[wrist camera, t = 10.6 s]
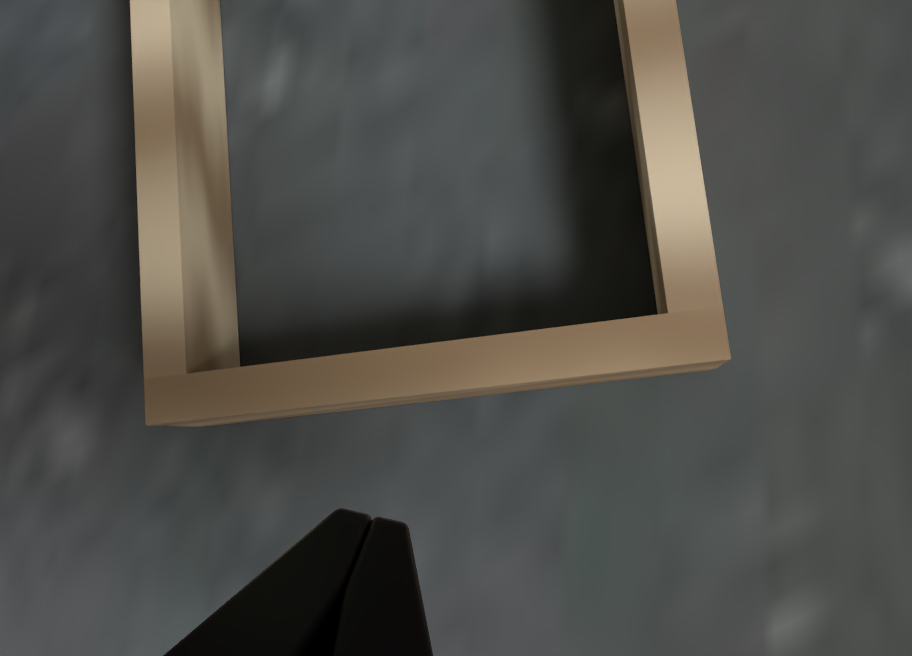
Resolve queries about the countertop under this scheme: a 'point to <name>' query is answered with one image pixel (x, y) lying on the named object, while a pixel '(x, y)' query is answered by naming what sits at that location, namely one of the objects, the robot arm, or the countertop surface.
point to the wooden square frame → (409, 367)
